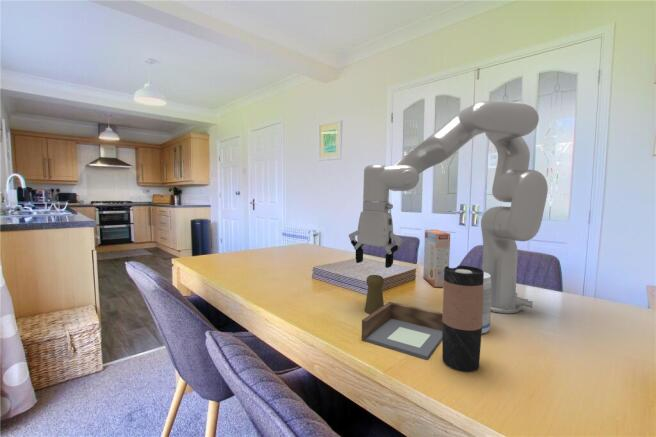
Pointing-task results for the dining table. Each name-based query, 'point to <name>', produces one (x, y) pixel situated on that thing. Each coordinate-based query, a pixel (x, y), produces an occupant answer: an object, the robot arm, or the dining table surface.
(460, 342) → the travel mug
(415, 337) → the mat
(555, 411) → the dining table surface
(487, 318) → the supplement tub
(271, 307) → the dining table surface
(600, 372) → the dining table surface
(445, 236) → the cracker box
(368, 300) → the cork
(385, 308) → the walls
